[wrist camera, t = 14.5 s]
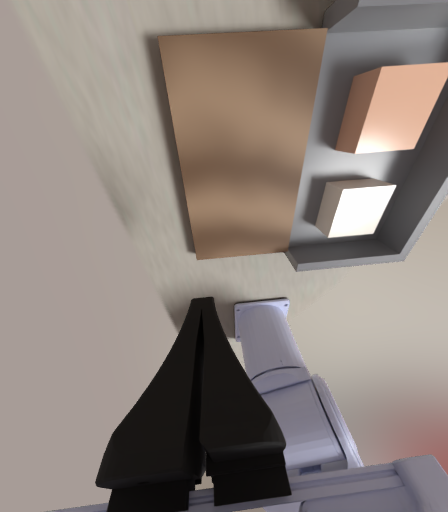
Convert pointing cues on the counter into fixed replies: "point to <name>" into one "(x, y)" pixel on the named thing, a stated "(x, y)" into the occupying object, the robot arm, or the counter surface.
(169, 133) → the counter surface
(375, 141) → the terracotta tile
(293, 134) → the walnut plate
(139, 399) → the robot arm
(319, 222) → the cream tile
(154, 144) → the counter surface
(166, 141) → the counter surface
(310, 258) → the tray
